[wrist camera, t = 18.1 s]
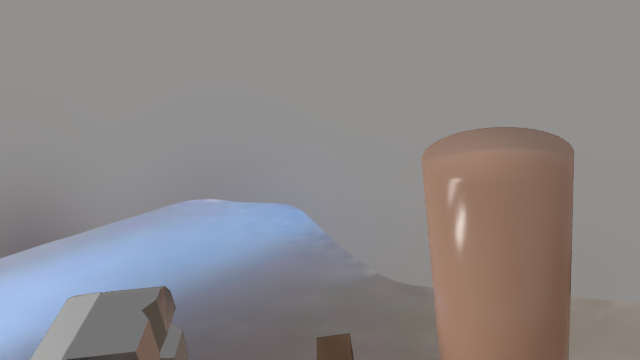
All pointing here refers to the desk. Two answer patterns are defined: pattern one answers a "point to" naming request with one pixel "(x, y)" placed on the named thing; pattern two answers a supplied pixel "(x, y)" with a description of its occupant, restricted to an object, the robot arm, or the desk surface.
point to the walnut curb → (334, 347)
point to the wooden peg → (500, 243)
